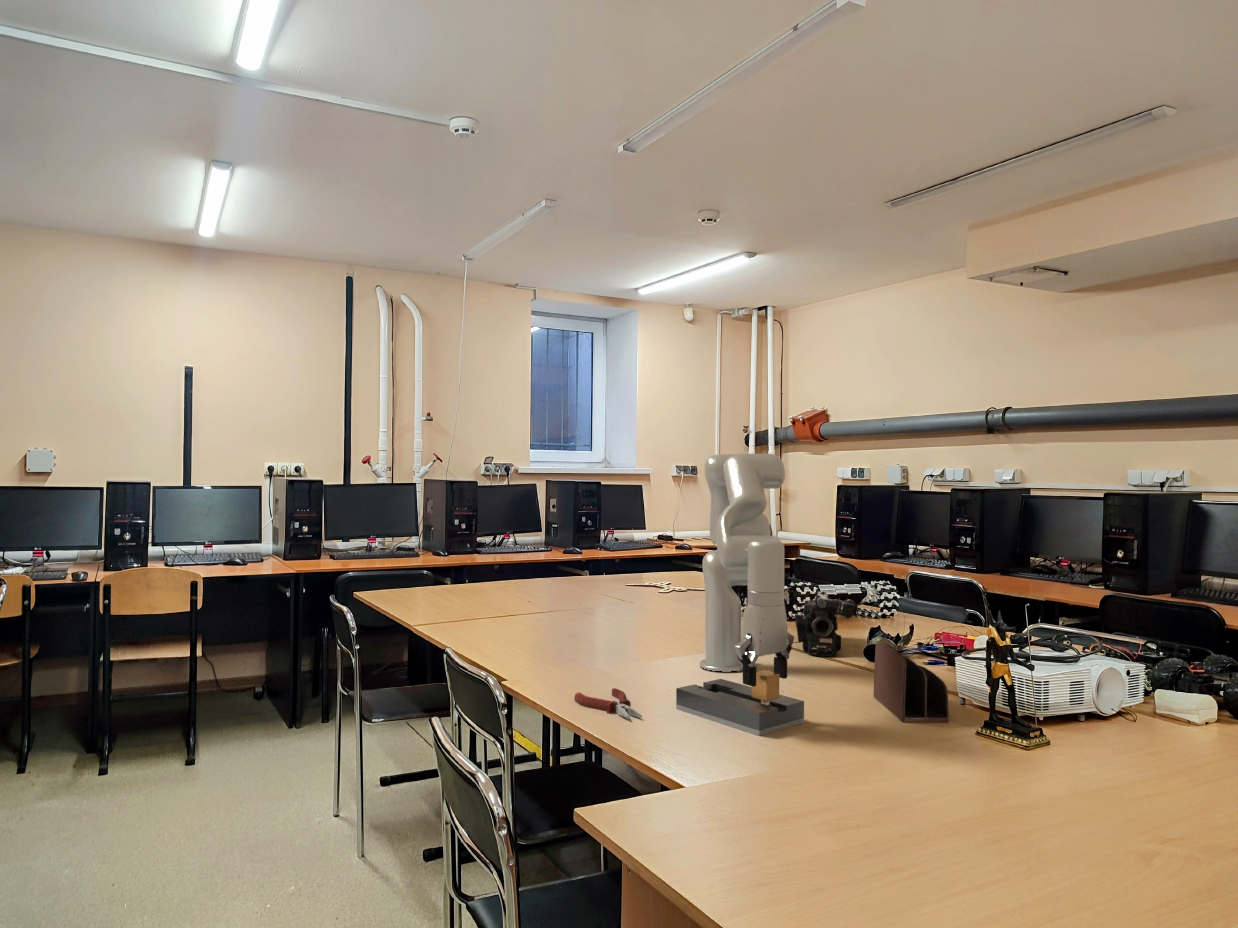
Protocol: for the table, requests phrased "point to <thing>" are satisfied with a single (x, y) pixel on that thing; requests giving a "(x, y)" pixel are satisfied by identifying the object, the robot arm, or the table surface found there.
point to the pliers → (609, 704)
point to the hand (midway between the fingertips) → (765, 680)
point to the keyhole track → (739, 707)
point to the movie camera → (822, 624)
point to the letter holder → (908, 688)
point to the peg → (766, 686)
